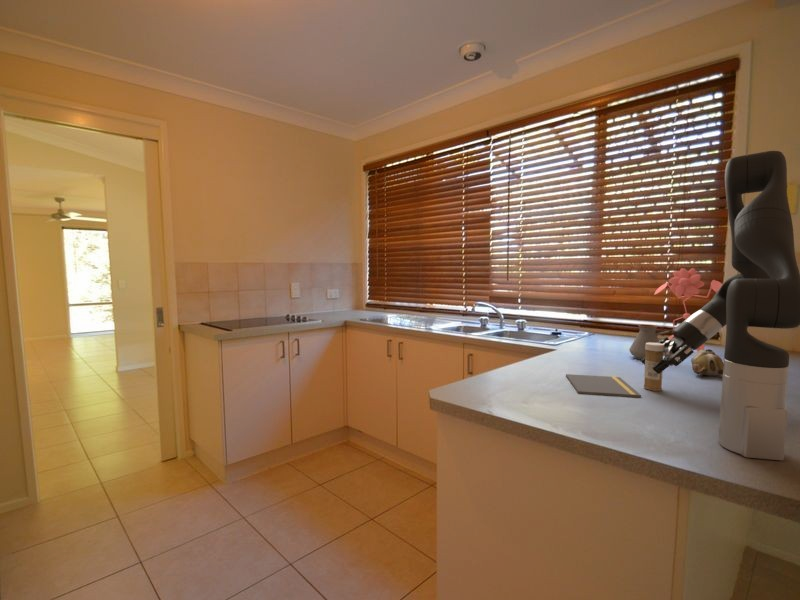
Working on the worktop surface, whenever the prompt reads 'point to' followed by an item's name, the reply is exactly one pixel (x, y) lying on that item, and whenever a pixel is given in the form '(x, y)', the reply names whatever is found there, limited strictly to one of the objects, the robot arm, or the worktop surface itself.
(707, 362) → the ceramic sculpture
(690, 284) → the pink flower figure
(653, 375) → the sprinkles bottle
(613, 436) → the worktop surface
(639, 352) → the coffee pot
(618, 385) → the line mat
